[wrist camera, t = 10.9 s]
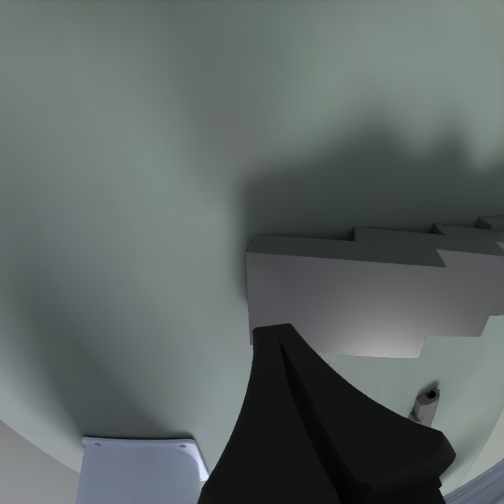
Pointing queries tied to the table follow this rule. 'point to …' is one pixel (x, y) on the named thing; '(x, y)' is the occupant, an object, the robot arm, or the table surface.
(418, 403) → the handgun
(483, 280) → the domino
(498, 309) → the domino
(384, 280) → the domino
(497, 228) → the domino end
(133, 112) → the table surface
